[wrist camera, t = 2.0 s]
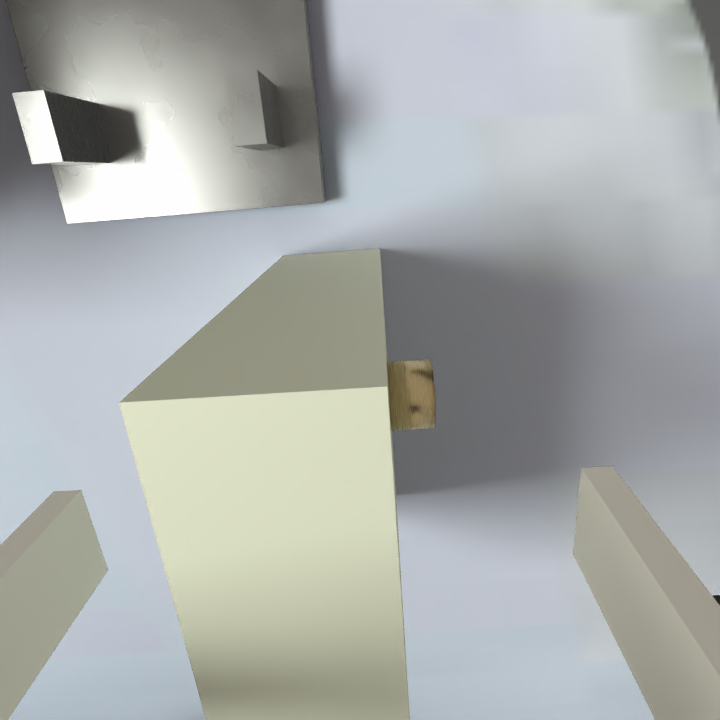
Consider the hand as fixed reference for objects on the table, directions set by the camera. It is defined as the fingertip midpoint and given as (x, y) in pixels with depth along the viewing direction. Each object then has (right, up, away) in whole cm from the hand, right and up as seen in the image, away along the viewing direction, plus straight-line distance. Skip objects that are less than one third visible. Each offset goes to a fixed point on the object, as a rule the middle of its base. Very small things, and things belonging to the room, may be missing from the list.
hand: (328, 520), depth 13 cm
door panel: (0, +3, +9) cm, 10 cm away
